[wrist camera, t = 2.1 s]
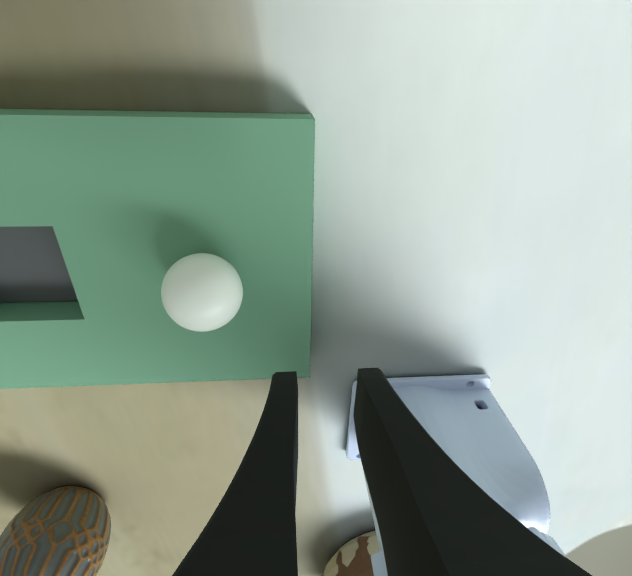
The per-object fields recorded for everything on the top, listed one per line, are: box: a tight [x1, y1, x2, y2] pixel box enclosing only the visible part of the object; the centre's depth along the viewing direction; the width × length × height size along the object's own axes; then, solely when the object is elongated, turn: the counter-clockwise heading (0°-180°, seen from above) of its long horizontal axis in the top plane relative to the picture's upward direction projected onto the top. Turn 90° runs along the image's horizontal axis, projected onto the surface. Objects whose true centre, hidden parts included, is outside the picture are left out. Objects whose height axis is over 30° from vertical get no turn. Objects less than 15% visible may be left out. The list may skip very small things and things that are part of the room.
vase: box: [0, 486, 111, 576], centre depth 26 cm, size 7×7×9 cm
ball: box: [161, 253, 243, 332], centre depth 17 cm, size 4×4×4 cm
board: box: [0, 109, 315, 389], centre depth 19 cm, size 18×14×2 cm
